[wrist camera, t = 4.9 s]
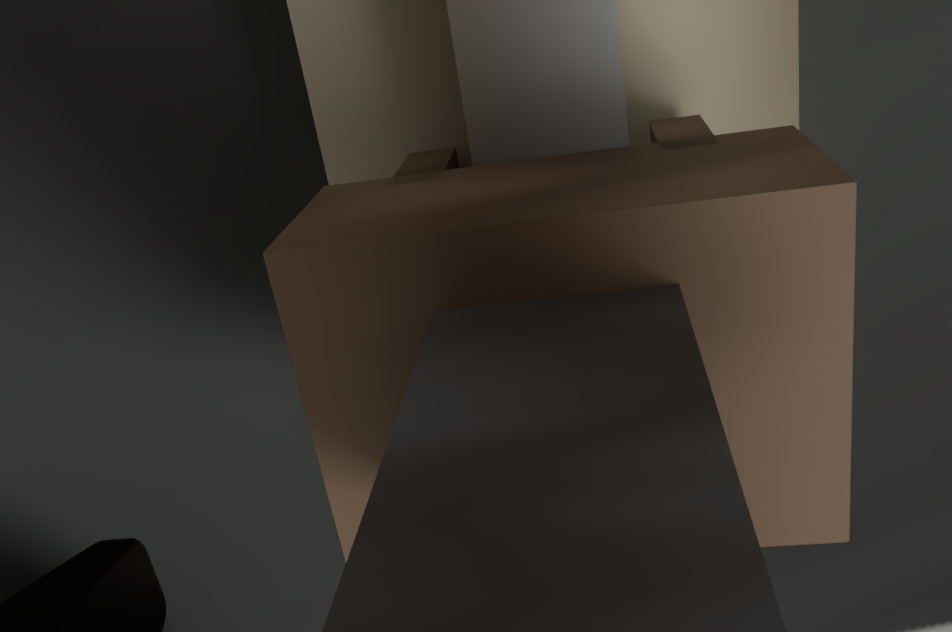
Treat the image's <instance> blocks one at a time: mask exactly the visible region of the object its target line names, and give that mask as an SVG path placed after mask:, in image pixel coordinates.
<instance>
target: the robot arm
mask: <svg viewBox="0 0 952 632" xmlns="http://www.w3.org/2000/svg"><path fill="white" fill-rule="evenodd" d="M165 617H166V602H165V597H164V594H163V591H162V589H161V586H160V584H159V581H158V578H157V576H156V573H155V571H154V568H153V565H152V563H151V560H150V558H149V555H148V553H147V550H146V548H145V546H144V545H143V544H142V543H141V542H140V541H139V540H137V539H134V538H127V539H112V540H102V541H99V542H97V543H95V544H93V545H91V546H90V547H88V548H87V549H85V550H84V551H82V552H80V553H79V554H77V555H76V556H74V557H72V558H71V559H69V560H68V561H66V562H64V563H63V564H61V565H60V566H58V567H57V568H55V569H53V570H52V571H50V572H49V573H47V574H45V575H44V576H42V577H41V578H39V579H37V580H36V581H34V582H33V583H31V584H30V585H28V586H26V587H25V588H23V589H22V590H20V591H18V592H17V593H15V594H14V595H12V596H11V597H9V598H7V599H6V600H4V601H3V602H1V603H0V632H162V629H163V626H164V622H165Z"/></svg>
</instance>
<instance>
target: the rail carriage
mask: <svg viewBox="0 0 952 632" xmlns="http://www.w3.org/2000/svg"><path fill="white" fill-rule="evenodd" d="M649 125H650V138H651V144H643V145H636V146H628V147H620V148H612V149H605V150H597V151H589V152H582V153H574V154H566V155H559V156H551V157H543V158H536V159H528V160H520V161H513V162H505V163H497V164H490V165H482V166H474V167H467V168H459V164H458V158H457V152H456V147H454V148H446V149H439V150H431V151H424V152H416V153H409V155H408V156H407V158H406V159H405V160H404V162H403V163H402V165H401V166H400V168H399V169H398V171H397V172H396V173H395V175H394V176H393V177H390V178H382V179H375V180H367V181H359V182H352V183H344V184H336V185H329V186H324V187H323V188H322V189H321V190H320V191H319V192H318V193H317V195H316V196H315V197H314V198H313V199H312V200H311V201H310V202H309V203H308V204H307V205H306V206H305V207H304V209H303V210H302V211H301V212H300V213H299V214H298V215H297V216H296V217H295V218H294V219H293V220H292V221H291V223H290V224H289V225H288V226H287V227H286V228H285V229H284V230H283V231H282V232H281V233H280V234H279V235H278V237H277V238H276V239H275V240H274V241H273V242H272V243H271V244H270V245H269V246H268V247H267V248H266V249H265V251H264V252H263V253H262V254H263V258H264V261H265V265H266V269H267V272H268V276H269V280H270V283H271V287H272V291H273V294H274V298H275V302H276V306H277V309H278V313H279V317H280V320H281V324H282V328H283V331H284V335H285V339H286V343H287V346H288V350H289V354H290V357H291V361H292V365H293V368H294V372H295V376H296V380H297V383H298V387H299V391H300V394H301V398H302V402H303V405H304V409H305V413H306V416H307V420H308V424H309V428H310V431H311V435H312V439H313V442H314V446H315V450H316V453H317V457H318V461H319V465H320V468H321V472H322V476H323V479H324V483H325V487H326V490H327V494H328V498H329V502H330V505H331V509H332V513H333V516H334V520H335V524H336V527H337V531H338V535H339V539H340V542H341V546H342V550H343V553H344V557H345V561H346V565H345V568H344V571H343V574H342V577H341V580H340V583H339V585H338V588H337V591H336V594H335V597H334V600H333V603H332V606H331V609H330V611H329V614H328V617H327V620H326V623H325V626H324V629H323V632H786V630H785V626H784V623H783V620H782V617H781V613H780V610H779V607H778V604H777V600H776V597H775V594H774V591H773V587H772V584H771V581H770V578H769V574H768V571H767V568H766V565H765V561H764V558H763V555H762V552H761V548H760V547H771V546H788V545H805V544H821V543H838V542H849V524H850V475H851V426H852V377H853V328H854V279H855V230H856V181H855V180H854V179H853V178H851V177H850V176H849V175H848V174H847V173H846V172H845V171H844V170H843V169H841V168H840V167H839V166H838V165H837V164H836V163H835V162H834V161H833V160H831V159H830V158H829V157H828V156H827V155H826V154H825V153H824V152H822V151H821V150H820V149H819V148H818V147H817V146H816V145H815V144H814V143H812V142H811V141H810V140H809V139H808V138H807V137H806V136H805V135H804V134H802V133H801V132H800V131H799V130H798V129H797V128H796V127H795V126H794V125H789V126H781V127H774V128H766V129H758V130H751V131H743V132H735V133H728V134H720V135H714V134H713V133H712V132H711V130H710V129H709V127H708V126H707V124H706V123H705V121H704V120H703V119H702V117H701V116H700V115H692V116H685V117H677V118H670V119H662V120H655V121H649Z"/></svg>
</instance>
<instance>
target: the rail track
mask: <svg viewBox="0 0 952 632" xmlns="http://www.w3.org/2000/svg"><path fill="white" fill-rule="evenodd" d="M286 1H287V5H288V10H289V14H290V19H291V23H292V27H293V32H294V36H295V40H296V45H297V49H298V53H299V58H300V62H301V66H302V71H303V75H304V79H305V84H306V88H307V92H308V97H309V101H310V105H311V110H312V114H313V118H314V123H315V127H316V131H317V136H318V140H319V145H320V149H321V153H322V158H323V162H324V166H325V171H326V175H327V179H328V184H329V185H336V184H344V183H352V182H359V181H367V180H375V179H382V178H390V177H393V176H394V175H395V173H396V172H397V171H398V169H399V168H400V166H401V165H402V163H403V162H404V160H405V159H406V158H407V156H408V155H409V153H416V152H424V151H431V150H439V149H446V148H454V147H456V152H457V158H458V164H459V168H467V167H474V166H482V165H490V164H497V163H505V162H513V161H520V160H528V159H536V158H543V157H551V156H559V155H566V154H574V153H582V152H589V151H597V150H605V149H612V148H620V147H628V146H636V145H643V144H651V138H650V125H649V121H655V120H662V119H670V118H677V117H685V116H692V115H700V116H701V117H702V119H703V120H704V121H705V123H706V124H707V126H708V127H709V129H710V130H711V132H712V133H713V134H714V135H720V134H728V133H735V132H743V131H751V130H758V129H766V128H774V127H781V126H789V125H794V126H795V127H796V128H797V129H798V130H799V51H798V0H286Z"/></svg>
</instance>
